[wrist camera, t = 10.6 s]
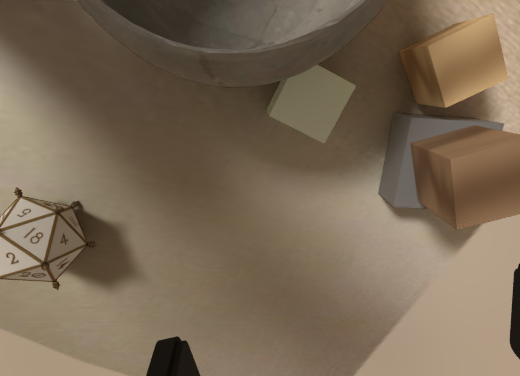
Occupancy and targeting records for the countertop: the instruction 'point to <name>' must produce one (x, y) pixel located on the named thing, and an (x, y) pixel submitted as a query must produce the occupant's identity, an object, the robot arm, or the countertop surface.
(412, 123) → the base block
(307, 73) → the sage cube
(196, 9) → the bowl
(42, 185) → the countertop surface
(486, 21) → the oak cube
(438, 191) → the walnut cube
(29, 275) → the game die
